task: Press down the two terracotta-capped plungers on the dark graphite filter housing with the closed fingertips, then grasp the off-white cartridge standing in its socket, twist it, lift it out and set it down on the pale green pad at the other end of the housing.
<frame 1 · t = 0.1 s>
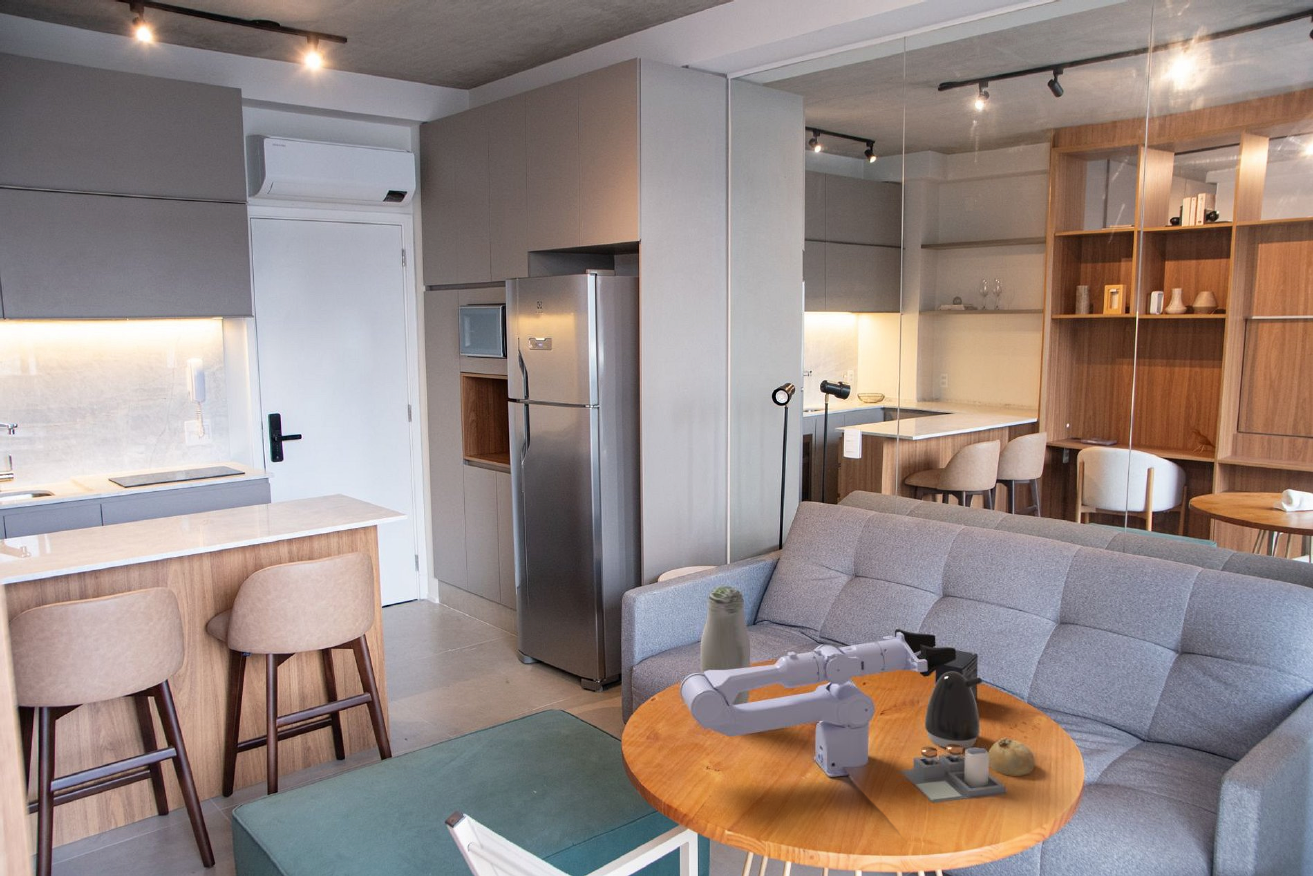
hand: (944, 646, 178), 22 cm above the table, tool horizontal, fingers open, 7 cm apart
small box: (955, 704, 206), on the table
cartridge: (976, 785, 165), point 1 cm above the table, touching housing
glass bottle: (725, 716, 200), on the table
pump dispenser: (952, 748, 184), on the table
plunger b: (929, 757, 169), point 5 cm above the table, slide at 0.0 cm
housing: (951, 790, 166), on the table
plunger a: (954, 754, 170), point 5 cm above the table, slide at 0.0 cm
onion: (1010, 776, 172), on the table
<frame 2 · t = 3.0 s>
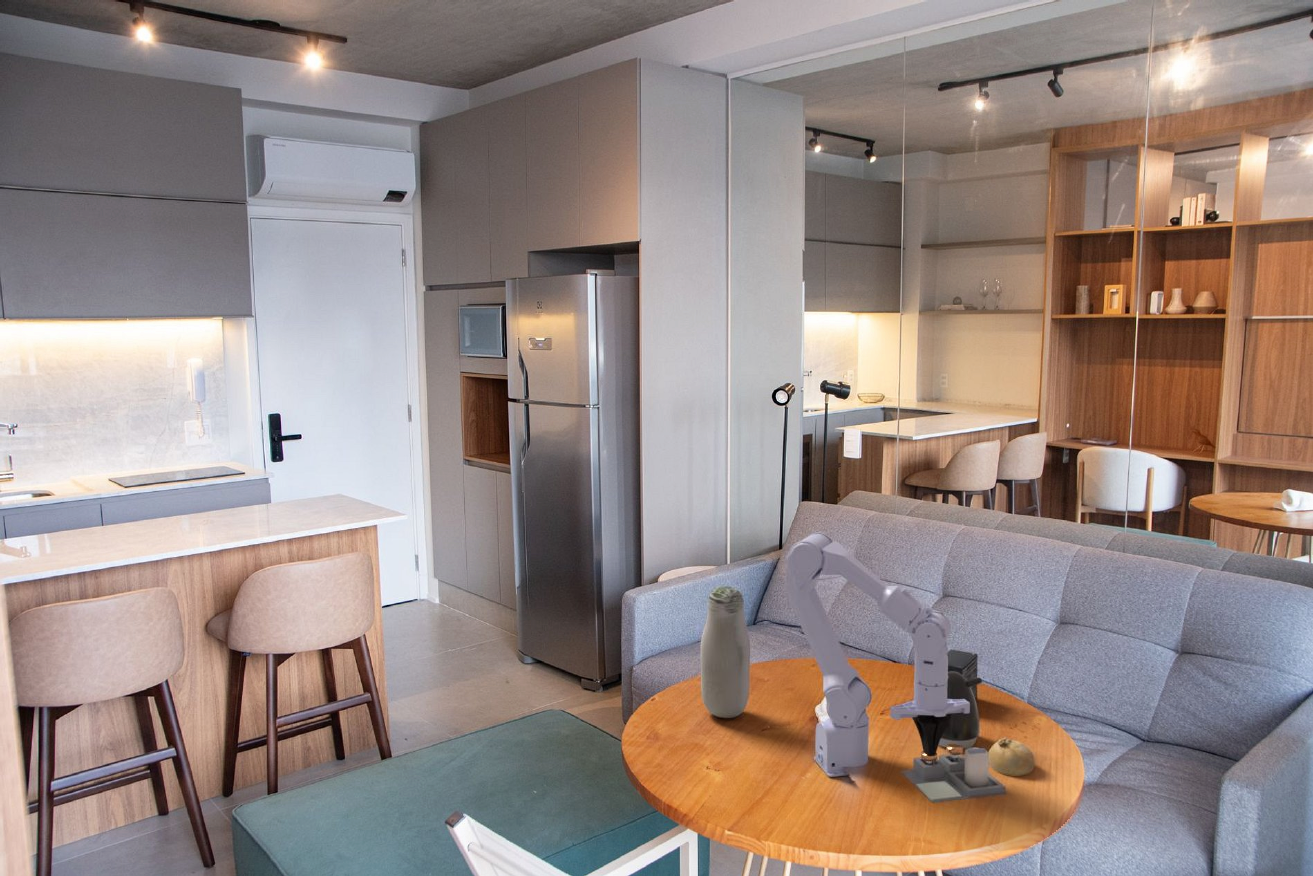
hand: (929, 753, 169), 5 cm above the table, tool pointing down, fingers closed, pressing on plunger b
plunger b: (929, 761, 169), point 4 cm above the table, slide at 0.7 cm, touching gripper
everything else where it was.
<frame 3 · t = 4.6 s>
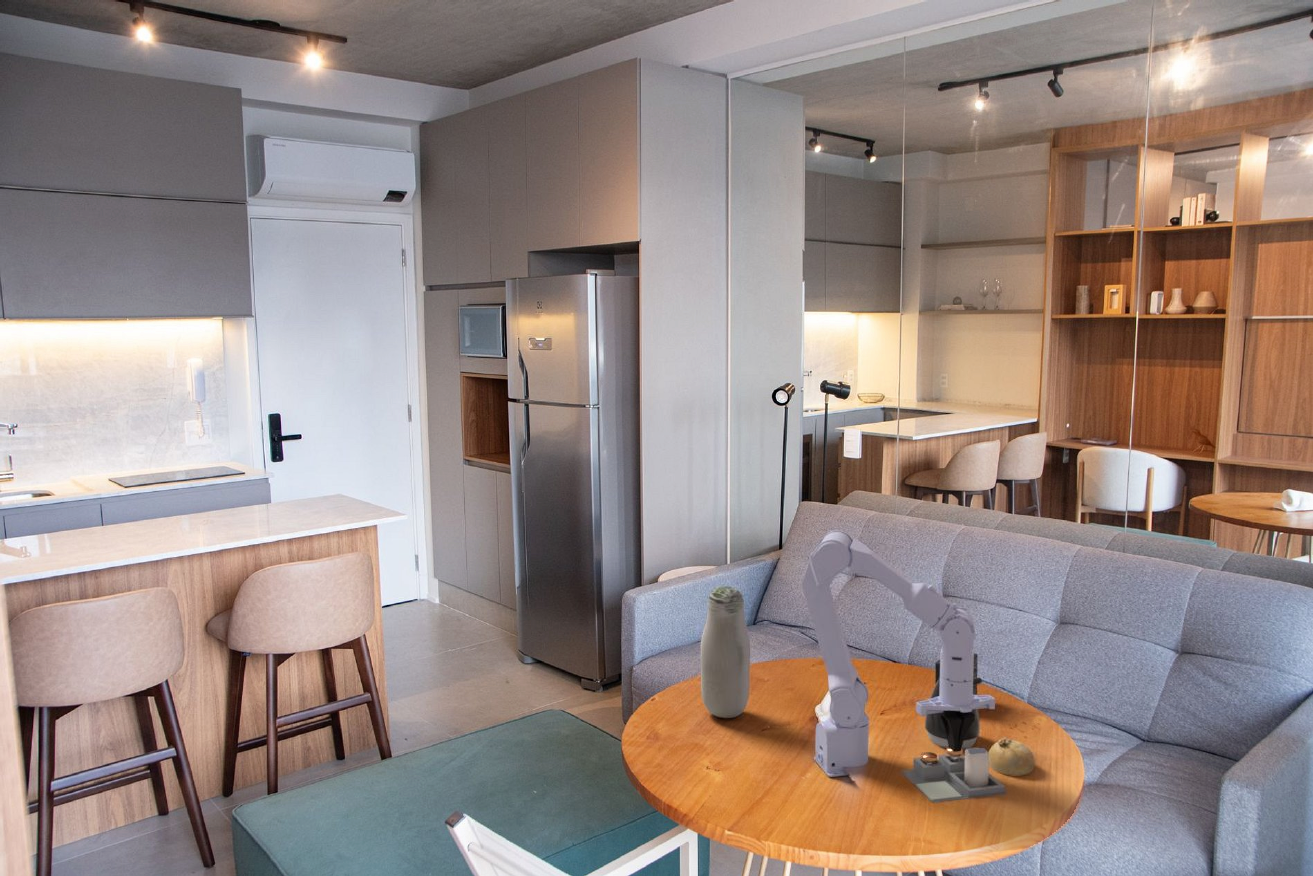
hand: (954, 749, 170), 6 cm above the table, tool pointing down, fingers closed, pressing on plunger a
plunger b: (928, 762, 169), point 4 cm above the table, slide at 1.0 cm
plunger a: (954, 756, 170), point 4 cm above the table, slide at 0.3 cm, touching gripper
everything else where it was.
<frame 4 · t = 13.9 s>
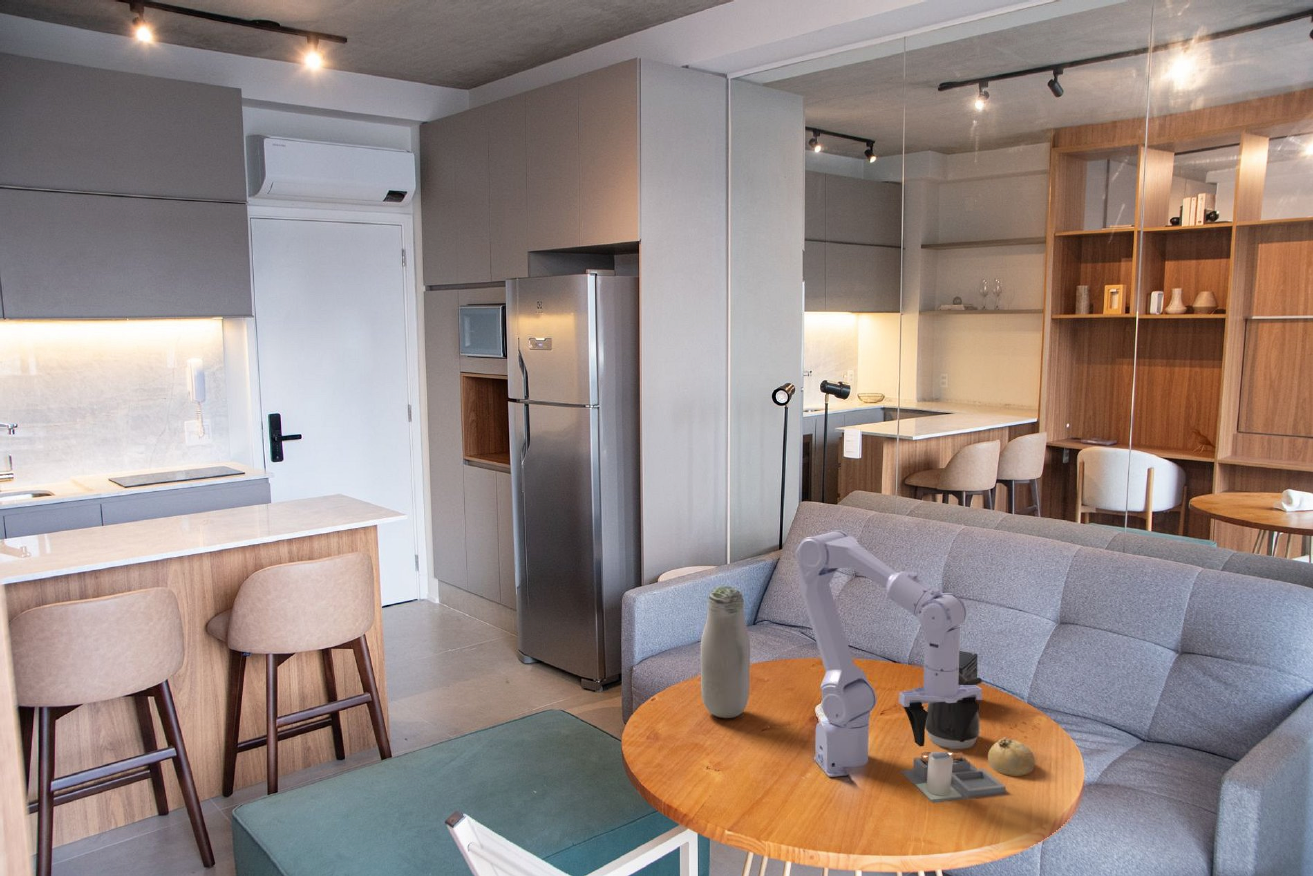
hand: (939, 742, 162), 10 cm above the table, tool pointing down, fingers open, 7 cm apart
cartridge: (938, 789, 163), point 2 cm above the table, touching housing
plunger a: (954, 760, 170), point 4 cm above the table, slide at 1.0 cm
everything else where it was.
at the end: cartridge 0.1 cm from the target spot on the housing, point 1.8 cm above the housing's base; plunger a slide at 1.0 cm; plunger b slide at 1.0 cm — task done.
